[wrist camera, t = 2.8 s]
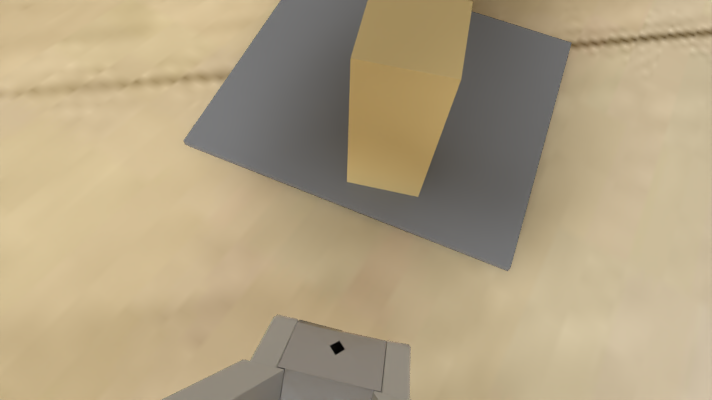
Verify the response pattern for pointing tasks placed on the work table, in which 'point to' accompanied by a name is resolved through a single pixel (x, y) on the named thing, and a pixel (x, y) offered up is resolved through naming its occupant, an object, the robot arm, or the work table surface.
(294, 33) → the mat
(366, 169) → the block
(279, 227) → the work table surface
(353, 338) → the robot arm
